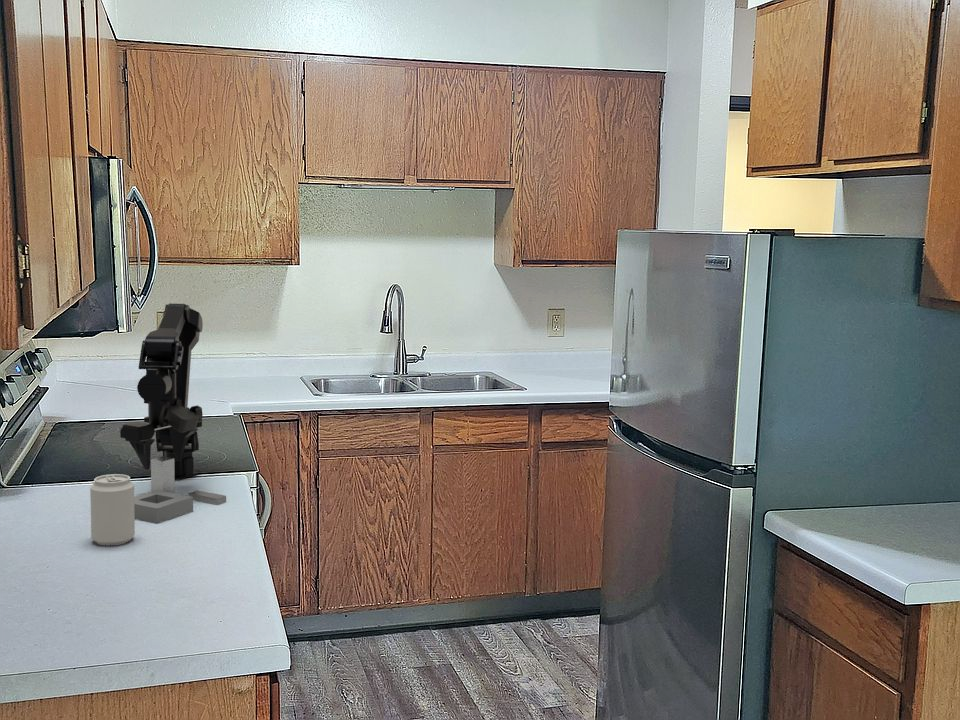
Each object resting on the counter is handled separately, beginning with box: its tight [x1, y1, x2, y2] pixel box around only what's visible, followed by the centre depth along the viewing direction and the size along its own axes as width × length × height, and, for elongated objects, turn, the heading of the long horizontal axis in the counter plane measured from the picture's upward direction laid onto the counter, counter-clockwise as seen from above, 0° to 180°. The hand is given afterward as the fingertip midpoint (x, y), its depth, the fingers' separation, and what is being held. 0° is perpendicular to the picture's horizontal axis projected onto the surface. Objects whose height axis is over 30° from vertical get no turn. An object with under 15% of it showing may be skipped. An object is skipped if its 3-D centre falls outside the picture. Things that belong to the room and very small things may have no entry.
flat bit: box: [187, 489, 227, 506], centre depth 205 cm, size 8×3×2 cm, turn 64°
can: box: [89, 473, 136, 547], centre depth 177 cm, size 8×8×12 cm
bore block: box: [134, 490, 194, 524], centre depth 195 cm, size 10×10×3 cm
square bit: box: [150, 455, 176, 494], centre depth 208 cm, size 3×3×8 cm
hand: (162, 464), depth 208 cm, fingers open, 9 cm apart
